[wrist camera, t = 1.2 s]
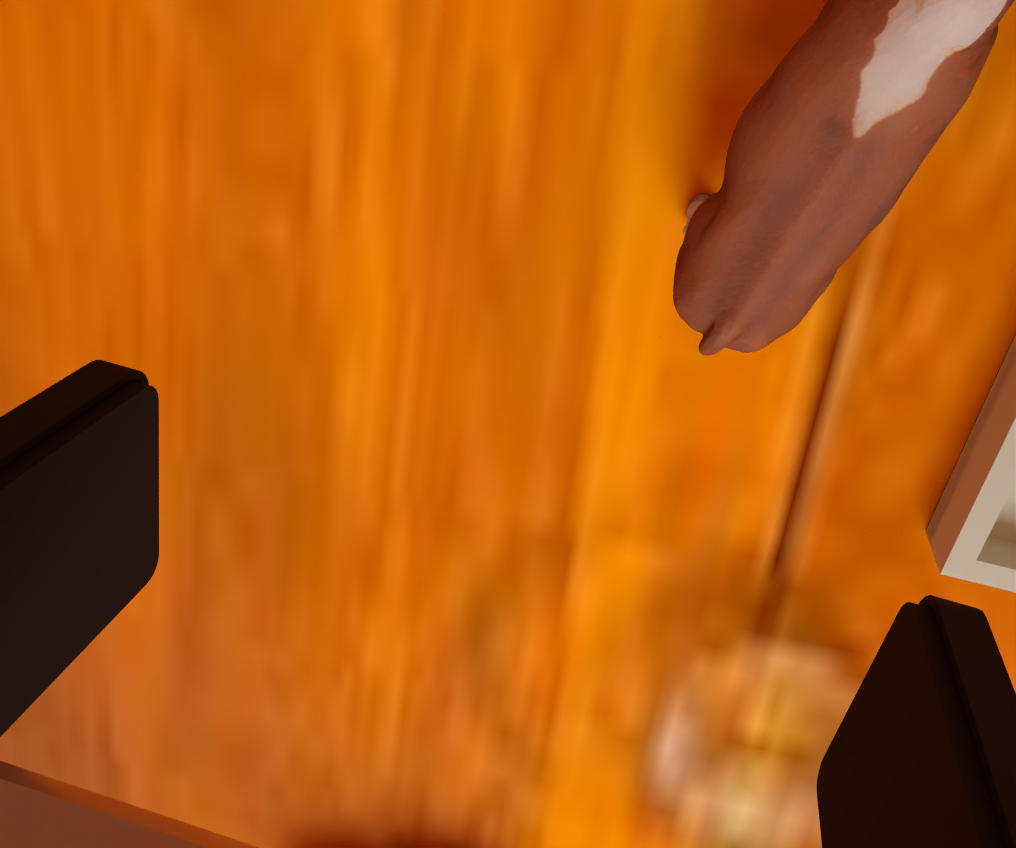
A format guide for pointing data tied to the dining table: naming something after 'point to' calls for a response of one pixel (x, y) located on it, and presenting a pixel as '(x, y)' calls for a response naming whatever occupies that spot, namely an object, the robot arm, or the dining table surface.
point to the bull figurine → (824, 160)
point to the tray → (983, 494)
